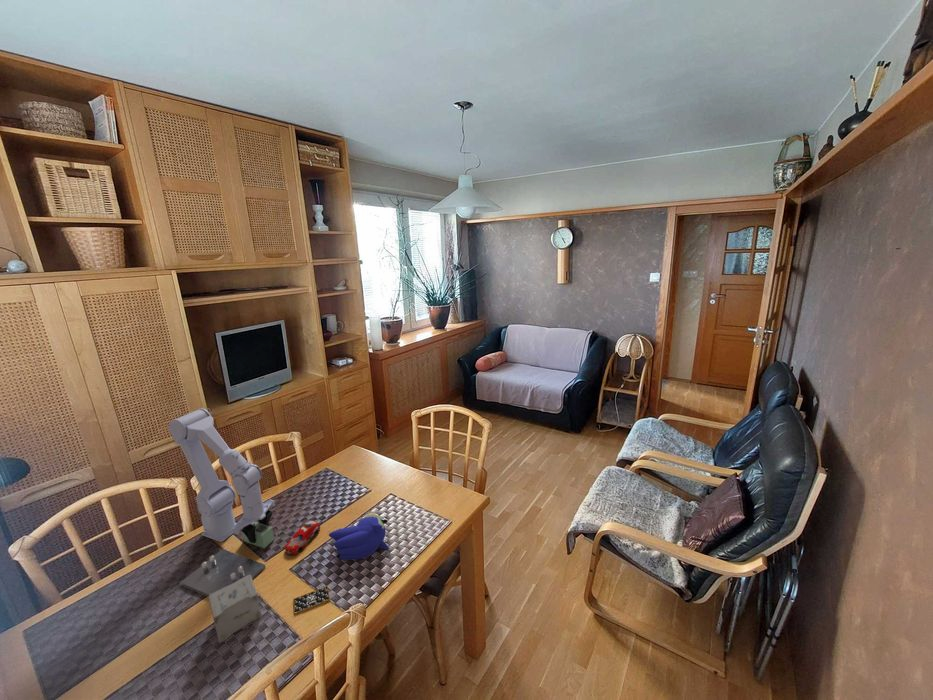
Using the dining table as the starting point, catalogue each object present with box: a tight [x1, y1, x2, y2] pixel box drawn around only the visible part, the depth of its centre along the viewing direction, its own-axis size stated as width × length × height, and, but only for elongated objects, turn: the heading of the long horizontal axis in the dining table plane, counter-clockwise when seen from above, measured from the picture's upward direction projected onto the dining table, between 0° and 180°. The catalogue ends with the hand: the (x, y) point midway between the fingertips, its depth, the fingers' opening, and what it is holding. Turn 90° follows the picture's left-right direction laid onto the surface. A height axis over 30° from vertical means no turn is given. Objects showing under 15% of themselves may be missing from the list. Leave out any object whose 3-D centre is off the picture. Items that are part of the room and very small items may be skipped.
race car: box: [284, 520, 321, 556], centre depth 122 cm, size 13×5×4 cm, turn 161°
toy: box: [328, 512, 390, 561], centre depth 119 cm, size 10×17×15 cm
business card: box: [293, 585, 331, 616], centre depth 102 cm, size 9×1×5 cm
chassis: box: [180, 549, 266, 598], centre depth 109 cm, size 18×13×4 cm
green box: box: [241, 521, 275, 549], centre depth 122 cm, size 9×4×6 cm, turn 70°
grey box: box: [208, 575, 263, 644], centre depth 94 cm, size 10×8×10 cm
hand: (258, 536), depth 122 cm, fingers closed on green box, 4 cm apart
